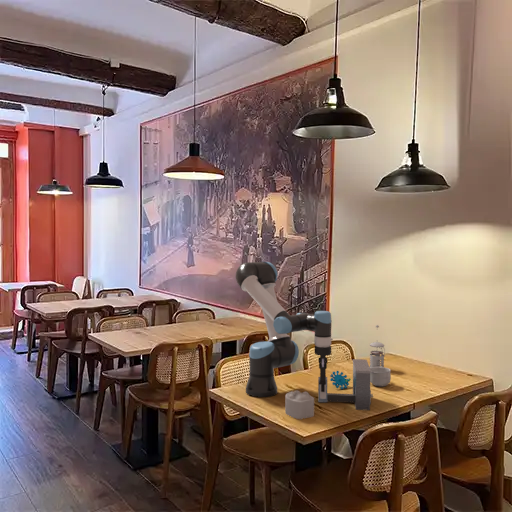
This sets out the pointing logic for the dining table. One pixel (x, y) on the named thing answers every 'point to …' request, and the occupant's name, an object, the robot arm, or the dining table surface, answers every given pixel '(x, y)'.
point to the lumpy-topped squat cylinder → (299, 404)
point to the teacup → (380, 376)
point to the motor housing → (361, 384)
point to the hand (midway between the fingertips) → (322, 396)
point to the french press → (377, 355)
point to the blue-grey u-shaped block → (337, 396)
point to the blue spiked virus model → (339, 380)
